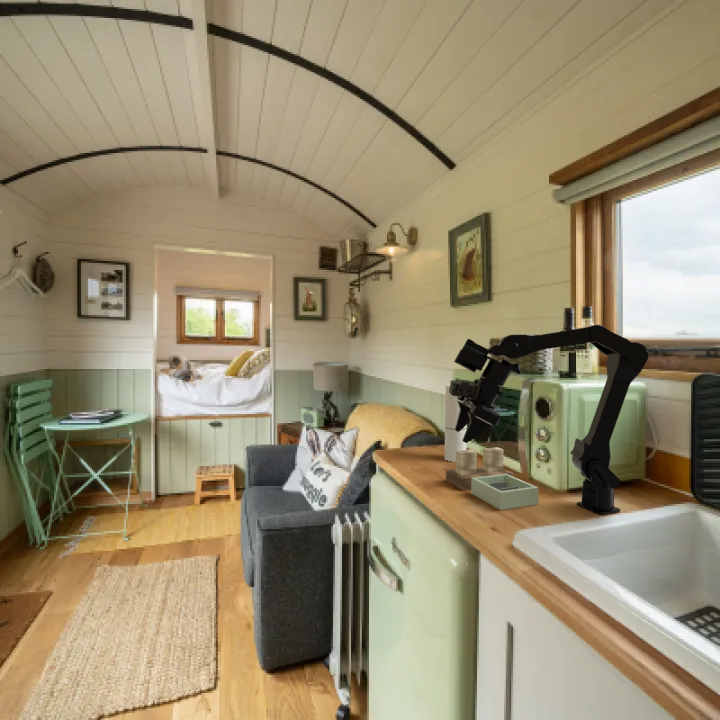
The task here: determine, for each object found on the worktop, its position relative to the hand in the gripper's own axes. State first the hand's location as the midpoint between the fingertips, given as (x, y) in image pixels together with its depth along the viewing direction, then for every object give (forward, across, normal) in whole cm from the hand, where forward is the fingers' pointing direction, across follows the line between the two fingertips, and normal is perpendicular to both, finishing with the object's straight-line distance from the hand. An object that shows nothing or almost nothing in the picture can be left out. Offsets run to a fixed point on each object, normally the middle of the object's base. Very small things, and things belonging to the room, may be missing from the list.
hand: (460, 436), depth 97 cm
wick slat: (+9, -12, +18) cm, 23 cm away
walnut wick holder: (+11, -10, +14) cm, 20 cm away
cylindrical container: (+14, -33, +13) cm, 38 cm away
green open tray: (+8, +2, +16) cm, 19 cm away
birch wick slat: (+12, -8, +10) cm, 18 cm away
